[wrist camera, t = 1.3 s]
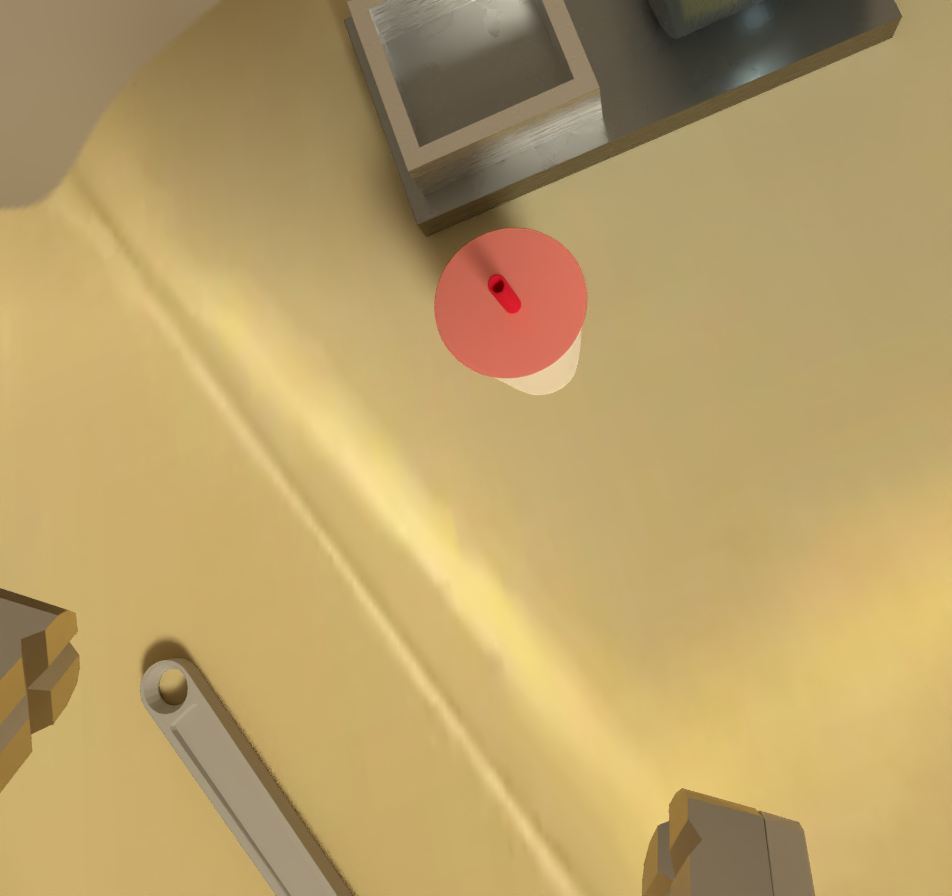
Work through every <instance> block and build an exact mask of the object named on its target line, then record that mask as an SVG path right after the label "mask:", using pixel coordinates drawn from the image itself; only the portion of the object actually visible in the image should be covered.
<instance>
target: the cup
mask: <svg viewBox="0 0 952 896" xmlns="http://www.w3.org/2000/svg"><path fill="white" fill-rule="evenodd" d="M434 309H435V319H436V324H437V328H438V331H439V334H440V336H441V338H442V340H443V342H444V344H445V345H446V347H447V348H448V350H449V351H450V352H451V354H452V355H453V356H454V357H455V358H456V359H457V360H458V361H460V362H461V363H462V364H463V365H465V366H466V367H468V368H470V369H471V370H473V371H475V372H478V373H480V374H483V375H486V376H490V377H494V378H496V379H498V380H500V381H502V382H504V383H506V384H508V385H510V386H512V387H514V388H516V389H518V390H521V391H523V392H525V393H528V394H531V395H548V394H551V393H554V392H556V391H558V390H560V389H562V388H563V387H564V386H565V385H567V384H568V383H569V381H570V380H571V379H572V377H573V376H574V374H575V372H576V369H577V366H578V360H579V353H580V343H581V331H582V325H583V322H584V319H585V315H586V309H587V289H586V284H585V280H584V276H583V274H582V271H581V269H580V267H579V265H578V263H577V261H576V260H575V258H574V257H573V256H572V254H571V253H570V252H569V251H568V250H567V249H566V248H565V247H564V246H563V245H562V244H560V243H559V242H558V241H556V240H555V239H553V238H552V237H550V236H548V235H546V234H543V233H541V232H538V231H535V230H530V229H525V228H505V229H499V230H495V231H491V232H488V233H486V234H483V235H481V236H479V237H477V238H475V239H474V240H472V241H470V242H469V243H468V244H466V245H465V246H464V247H462V248H461V249H460V250H459V251H458V252H457V253H456V254H455V255H454V256H453V258H452V259H451V260H450V262H449V263H448V264H447V266H446V268H445V269H444V271H443V273H442V275H441V278H440V280H439V283H438V286H437V290H436V295H435V305H434Z"/></svg>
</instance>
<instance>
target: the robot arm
mask: <svg viewBox="0 0 952 896" xmlns="http://www.w3.org/2000/svg"><path fill="white" fill-rule="evenodd" d="M77 632H78V628H77V619H76V613H74V612H72V611H69V610H66V609H63V608H60V607H57V606H54V605H51V604H48V603H45V602H42V601H38V600H35V599H32V598H29V597H26V596H23V595H20V594H17V593H14V592H10V591H7V590H4V589H1V588H0V793H1V791H2V790H3V789H4V787H5V786H6V785H7V784H8V782H9V781H10V780H11V778H12V777H13V776H14V774H15V773H16V772H17V771H18V769H19V768H20V767H21V765H22V764H23V763H24V762H25V760H26V759H27V758H28V756H29V755H30V754H31V752H32V736H31V734H33V733H35V732H37V731H39V730H41V729H44V728H46V727H48V726H50V725H52V724H54V722H55V721H56V720H57V718H58V717H59V715H60V714H61V713H62V711H63V710H64V709H65V707H66V706H67V704H68V702H69V700H70V697H71V695H72V693H73V691H74V689H75V687H76V685H77V680H78V675H79V670H80V660H79V654H78V653H77V651H76V650H75V649H74V647H73V646H72V645H71V643H70V642H69V641H70V640H71V639H72V638H73V636H74V635H75V634H76V633H77ZM642 896H815V891H814V886H813V880H812V874H811V869H810V863H809V857H808V851H807V846H806V840H805V834H804V830H803V828H802V827H801V825H800V823H799V822H796V821H793V820H790V819H786V818H783V817H779V816H776V815H773V814H769V813H766V812H762V811H757V810H756V809H755V808H751V807H748V806H744V805H740V804H737V803H733V802H730V801H726V800H722V799H719V798H715V797H712V796H708V795H704V794H701V793H697V792H694V791H690V790H686V789H683V788H682V789H681V790H679V791H678V792H676V794H675V795H674V797H673V799H672V801H671V803H670V804H669V821H668V822H665V823H663V824H660V825H658V826H657V828H656V830H655V832H654V835H653V837H652V839H651V841H650V843H649V847H648V851H647V855H646V858H645V862H644V871H643V879H642Z"/></svg>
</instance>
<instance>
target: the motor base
mask: <svg viewBox="0 0 952 896" xmlns="http://www.w3.org/2000/svg"><path fill="white" fill-rule="evenodd" d="M347 4H348V7H349V10H350V12H351V15H352V17H350V18H347V19H345V20H344V22H345V25H346V27H347V30H348V33H349V36H350V38H351V41H352V44H353V47H354V50H355V52H356V55H357V58H358V61H359V63H360V66H361V69H362V72H363V75H364V77H365V80H366V83H367V86H368V88H369V91H370V94H371V97H372V100H373V102H374V105H375V108H376V111H377V113H378V116H379V119H380V122H381V125H382V127H383V130H384V133H385V136H386V138H387V141H388V144H389V147H390V149H391V152H392V155H393V158H394V161H395V163H396V166H397V169H398V172H399V174H400V177H401V180H402V183H403V186H404V188H405V191H406V194H407V197H408V199H409V202H410V205H411V208H412V211H413V213H414V216H415V219H416V222H417V224H418V226H419V227H420V229H421V230H422V232H423V233H424V234H425V236H428V235H430V234H433V233H435V232H437V231H440V230H442V229H444V228H447V227H449V226H452V225H454V224H456V223H459V222H461V221H463V220H466V219H468V218H470V217H473V216H475V215H477V214H480V213H482V212H484V211H487V210H489V209H491V208H494V207H496V206H498V205H501V204H503V203H505V202H508V201H510V200H512V199H515V198H517V197H519V196H522V195H524V194H526V193H529V192H531V191H533V190H536V189H538V188H540V187H543V186H545V185H548V184H550V183H552V182H555V181H557V180H559V179H562V178H564V177H566V176H569V175H571V174H573V173H576V172H578V171H580V170H583V169H585V168H587V167H590V166H592V165H594V164H597V163H599V162H601V161H604V160H606V159H608V158H611V157H613V156H615V155H618V154H620V153H622V152H625V151H627V150H629V149H632V148H634V147H636V146H639V145H641V144H644V143H646V142H648V141H651V140H653V139H655V138H658V137H660V136H662V135H665V134H667V133H669V132H672V131H674V130H676V129H679V128H681V127H683V126H686V125H688V124H690V123H693V122H695V121H697V120H700V119H702V118H704V117H707V116H709V115H711V114H714V113H716V112H718V111H721V110H723V109H725V108H728V107H730V106H732V105H735V104H737V103H739V102H742V101H744V100H747V99H749V98H751V97H754V96H756V95H758V94H761V93H763V92H765V91H768V90H770V89H772V88H775V87H777V86H779V85H782V84H784V83H786V82H789V81H791V80H793V79H796V78H798V77H800V76H803V75H805V74H807V73H810V72H812V71H814V70H817V69H819V68H821V67H824V66H826V65H828V64H831V63H833V62H835V61H838V60H840V59H843V58H845V57H847V56H850V55H852V54H854V53H857V52H859V51H861V50H864V49H866V48H868V47H871V46H873V45H875V44H878V43H880V42H882V41H885V40H887V39H889V38H892V36H893V34H894V32H895V30H896V28H897V26H898V24H899V22H900V20H901V18H902V15H901V13H900V11H899V9H898V7H897V5H896V3H895V1H894V0H350V1H348V2H347Z"/></svg>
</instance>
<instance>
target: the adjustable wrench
mask: <svg viewBox="0 0 952 896" xmlns="http://www.w3.org/2000/svg"><path fill="white" fill-rule="evenodd" d="M170 669H179V670H180V671H181V672H182V673H183V674H184V676H185V678H186V680H187V686H188V691H187V697H186V699H185V701H184V702H182V703H181V704H179V705H169V704H167V703H166V702H165V701H164V700H163V698H162V696H161V694H160V690H159V683H160V679H161V676H162V675H163V673H164V672H166V671H167V670H170ZM140 695H141V700H142V702H143V704H144V706H145V708H146V710H147V711H148V712H149V714H150V715H151V717H152V718H153V720H154V721H155V723H156V724H157V725H158V727H159V728H160V730H161V731H162V733H163V734H164V735H165V737H166V738H167V740H168V741H169V743H170V744H171V745H172V747H173V748H174V750H175V751H176V753H177V754H178V756H179V757H180V758H181V760H182V761H183V763H184V764H185V766H186V767H187V768H188V770H189V771H190V773H191V774H192V776H193V777H194V779H195V780H196V781H197V783H198V784H199V786H200V787H201V789H202V790H203V791H204V793H205V794H206V796H207V797H208V799H209V800H210V801H211V803H212V804H213V806H214V807H215V809H216V810H217V812H218V813H219V814H220V816H221V817H222V819H223V820H224V822H225V823H226V824H227V826H228V827H229V829H230V830H231V832H232V833H233V835H234V836H235V837H236V839H237V840H238V842H239V843H240V845H241V846H242V847H243V849H244V850H245V852H246V853H247V855H248V856H249V857H250V859H251V860H252V862H253V863H254V865H255V866H256V868H257V869H258V870H259V872H260V873H261V875H262V876H263V878H264V879H265V880H266V882H267V883H268V885H269V886H270V888H271V889H272V891H273V892H274V893H275V895H276V896H353V895H352V893H351V892H350V890H349V889H348V887H347V886H346V884H345V883H344V881H343V880H342V878H341V877H340V876H339V874H338V873H337V871H336V870H335V868H334V867H333V865H332V864H331V862H330V861H329V859H328V858H327V857H326V855H325V854H324V852H323V851H322V849H321V848H320V846H319V845H318V843H317V842H316V840H315V839H314V838H313V836H312V835H311V833H310V832H309V830H308V829H307V827H306V826H305V824H304V823H303V821H302V820H301V818H300V817H299V816H298V814H297V813H296V811H295V810H294V808H293V807H292V805H291V804H290V802H289V801H288V799H287V798H286V797H285V795H284V794H283V792H282V791H281V789H280V788H279V786H278V785H277V783H276V782H275V780H274V779H273V778H272V776H271V775H270V773H269V772H268V770H267V769H266V767H265V766H264V764H263V763H262V761H261V760H260V759H259V757H258V756H257V754H256V753H255V751H254V750H253V748H252V747H251V745H250V744H249V742H248V741H247V740H246V738H245V737H244V735H243V734H242V732H241V731H240V729H239V728H238V726H237V725H236V723H235V722H234V721H233V719H232V718H231V716H230V715H229V713H228V712H227V710H226V709H225V707H224V706H223V704H222V703H221V702H220V700H219V699H218V697H217V696H216V694H215V693H214V691H213V690H212V688H211V687H210V685H209V684H208V683H207V681H206V680H205V678H204V677H203V675H202V674H201V672H200V671H199V669H198V668H197V667H196V666H195V665H194V664H193V663H192V662H191V661H189V660H187V659H184V658H172V659H167V660H163V661H159V662H156V663H155V664H153V665H152V666H150V667H149V668H148V669H147V671H146V672H145V673H144V675H143V678H142V680H141V685H140Z"/></svg>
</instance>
